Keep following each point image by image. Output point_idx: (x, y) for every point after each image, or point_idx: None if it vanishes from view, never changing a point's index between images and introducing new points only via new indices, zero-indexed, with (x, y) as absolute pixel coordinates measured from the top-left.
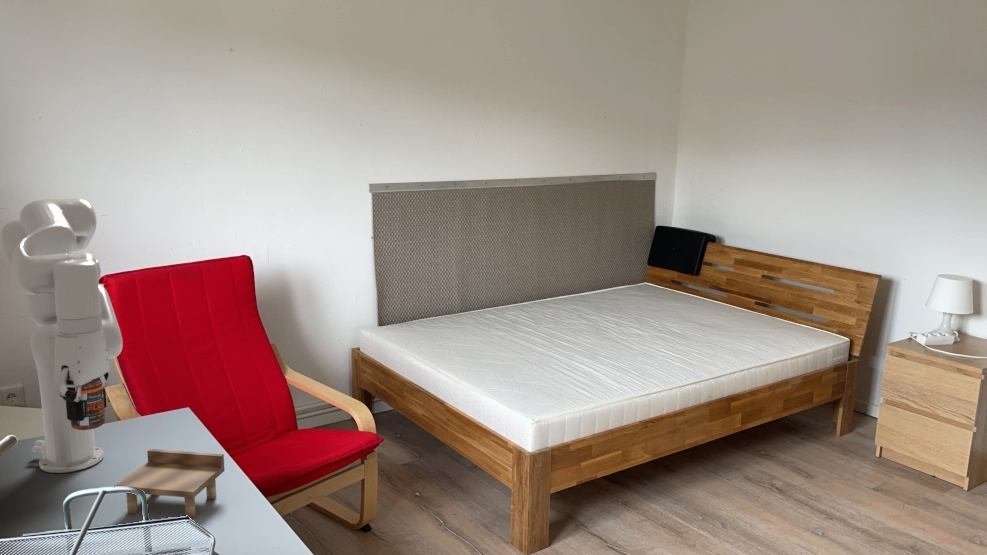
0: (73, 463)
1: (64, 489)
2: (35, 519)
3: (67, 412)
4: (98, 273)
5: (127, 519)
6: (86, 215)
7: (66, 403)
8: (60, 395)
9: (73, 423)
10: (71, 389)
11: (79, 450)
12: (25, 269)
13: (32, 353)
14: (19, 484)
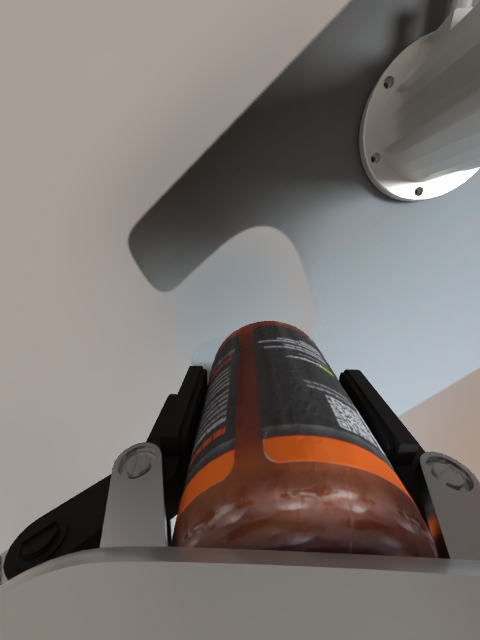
0: (388, 162)
1: (286, 214)
2: (174, 245)
3: (181, 387)
4: None
5: None
6: None
7: (167, 421)
8: (28, 532)
9: (213, 362)
10: (174, 531)
11: (417, 164)
12: None
13: None
14: (301, 85)
